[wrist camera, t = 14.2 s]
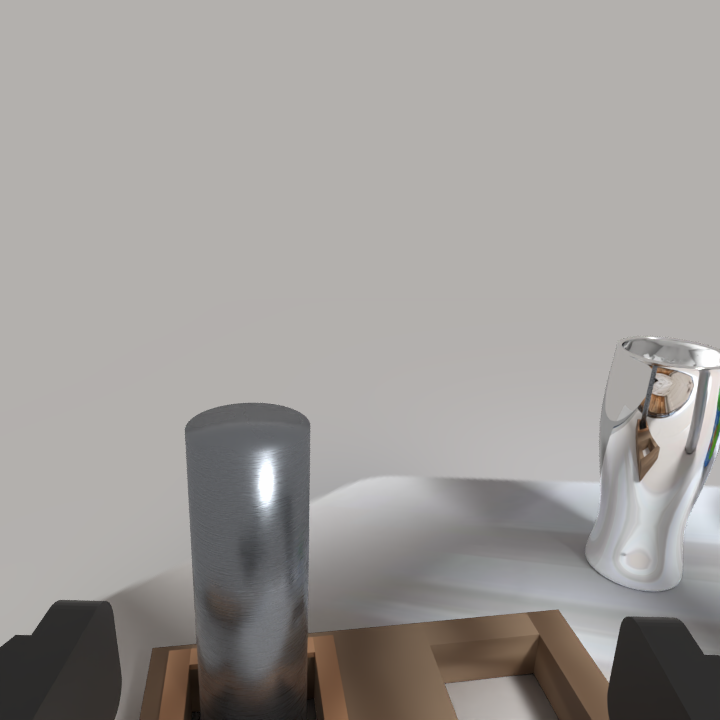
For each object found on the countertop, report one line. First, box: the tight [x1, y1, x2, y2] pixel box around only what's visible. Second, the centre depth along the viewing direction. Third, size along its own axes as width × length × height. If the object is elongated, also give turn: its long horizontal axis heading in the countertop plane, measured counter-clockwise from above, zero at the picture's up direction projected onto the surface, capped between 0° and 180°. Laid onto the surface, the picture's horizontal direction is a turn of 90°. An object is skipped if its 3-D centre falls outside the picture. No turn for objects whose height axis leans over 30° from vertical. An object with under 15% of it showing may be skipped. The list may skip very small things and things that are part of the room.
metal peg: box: [185, 403, 310, 720], centre depth 25 cm, size 4×4×16 cm
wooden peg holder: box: [139, 610, 609, 720], centre depth 28 cm, size 21×9×3 cm, turn 100°
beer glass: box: [585, 336, 720, 592], centre depth 40 cm, size 7×7×15 cm
